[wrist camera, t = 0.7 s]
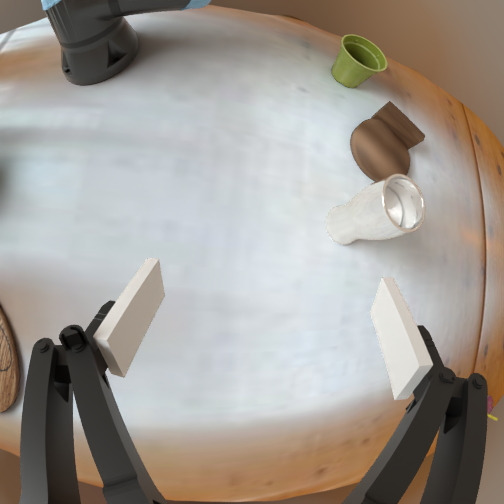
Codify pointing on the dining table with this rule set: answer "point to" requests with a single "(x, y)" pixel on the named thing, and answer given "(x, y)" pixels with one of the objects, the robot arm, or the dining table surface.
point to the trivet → (8, 365)
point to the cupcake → (490, 408)
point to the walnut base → (384, 143)
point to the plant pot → (357, 61)
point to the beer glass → (378, 212)
